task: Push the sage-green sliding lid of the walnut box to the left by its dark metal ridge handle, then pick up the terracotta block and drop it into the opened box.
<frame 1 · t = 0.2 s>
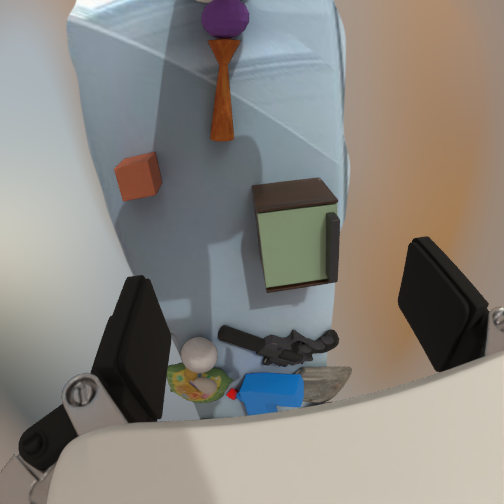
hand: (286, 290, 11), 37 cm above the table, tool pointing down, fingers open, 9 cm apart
stone: (304, 398, 77), point 2 cm above the table, touching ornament, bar
terracotta block: (143, 170, 44), on the table
sliding lid: (301, 251, 43), point 9 cm above the table, slide at 0.0 cm
educational model: (174, 374, 62), point 5 cm above the table, touching beige rounded piece
kendama: (223, 68, 37), on the table
walnut box: (289, 220, 51), on the table
beige rounded piece: (209, 344, 60), point 4 cm above the table, touching educational model
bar: (261, 430, 61), point 14 cm above the table, touching stone
revolver: (301, 317, 61), point 1 cm above the table
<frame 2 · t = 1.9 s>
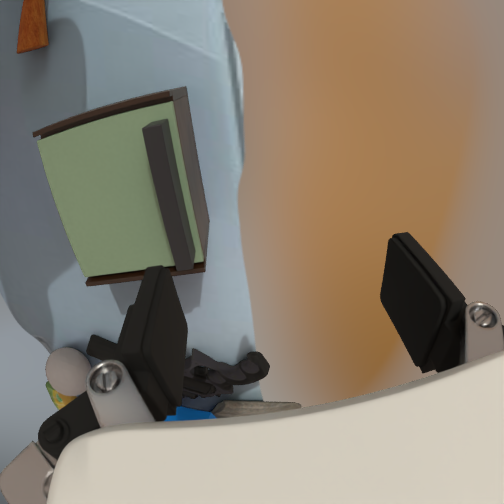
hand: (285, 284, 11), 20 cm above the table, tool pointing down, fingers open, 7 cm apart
stone: (238, 436, 54), point 2 cm above the table, touching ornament, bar
sliding lid: (113, 206, 20), point 9 cm above the table, slide at 0.0 cm
walnut box: (143, 166, 28), on the table
beige rounded piece: (75, 359, 37), point 4 cm above the table, touching educational model
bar: (161, 480, 38), point 14 cm above the table, touching stone
revolver: (197, 331, 38), point 1 cm above the table
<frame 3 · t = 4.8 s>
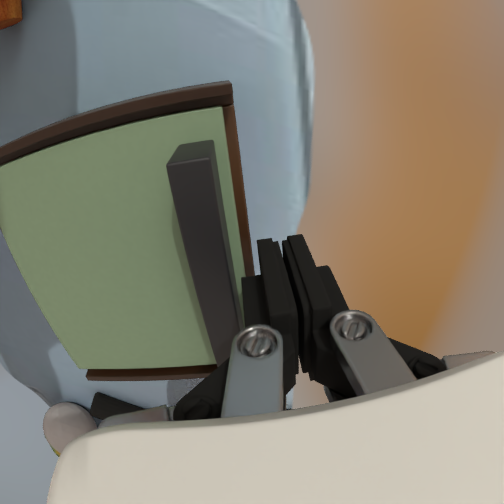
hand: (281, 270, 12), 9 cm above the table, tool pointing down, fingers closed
sliding lid: (113, 292, 12), point 9 cm above the table, slide at 0.4 cm, touching gripper
walnut box: (161, 199, 20), on the table
beige rounded piece: (77, 420, 28), point 4 cm above the table, touching educational model
revolver: (228, 396, 29), point 1 cm above the table
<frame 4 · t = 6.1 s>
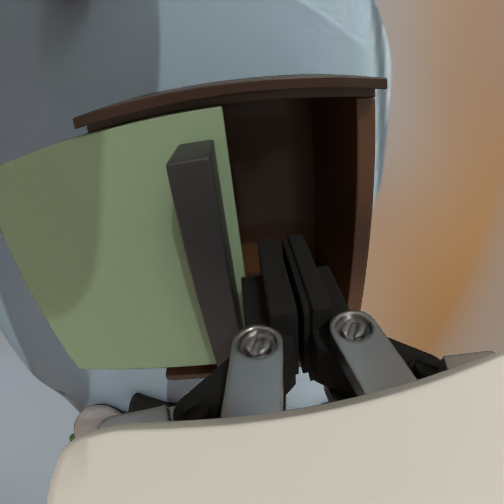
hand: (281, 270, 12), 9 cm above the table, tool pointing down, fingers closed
sliding lid: (112, 292, 12), point 9 cm above the table, slide at 5.6 cm, touching gripper
walnut box: (240, 187, 20), on the table
beige rounded piece: (114, 423, 28), point 4 cm above the table, touching educational model
revolver: (279, 390, 29), point 1 cm above the table
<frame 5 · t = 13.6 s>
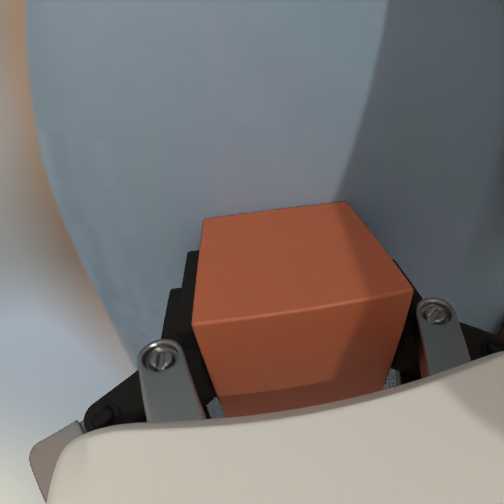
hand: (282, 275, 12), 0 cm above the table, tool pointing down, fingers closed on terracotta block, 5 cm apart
terracotta block: (281, 268, 12), on the table, touching gripper
when the fingers open (7 cm above the table, at t = 20.1 s): terracotta block drops 6 cm, resting on walnut box.
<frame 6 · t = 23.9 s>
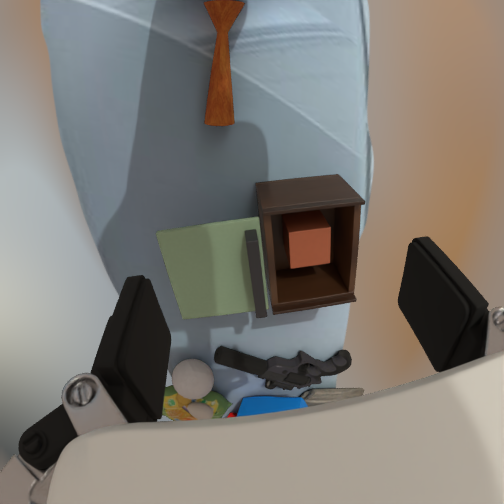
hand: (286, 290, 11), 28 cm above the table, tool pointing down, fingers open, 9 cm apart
stone: (309, 420, 68), point 2 cm above the table, touching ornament
terracotta block: (301, 228, 41), point 1 cm above the table, touching walnut box
sliding lid: (216, 279, 34), point 9 cm above the table, slide at 11.0 cm
educational model: (165, 399, 53), point 5 cm above the table, touching beige rounded piece
kendama: (222, 38, 29), on the table
walnut box: (300, 226, 42), on the table
beige rounded piece: (204, 368, 51), point 4 cm above the table, touching educational model
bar: (262, 459, 52), point 14 cm above the table
revolver: (311, 337, 52), point 1 cm above the table
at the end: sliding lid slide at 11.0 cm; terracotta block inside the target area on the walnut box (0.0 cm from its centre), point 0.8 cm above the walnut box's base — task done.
